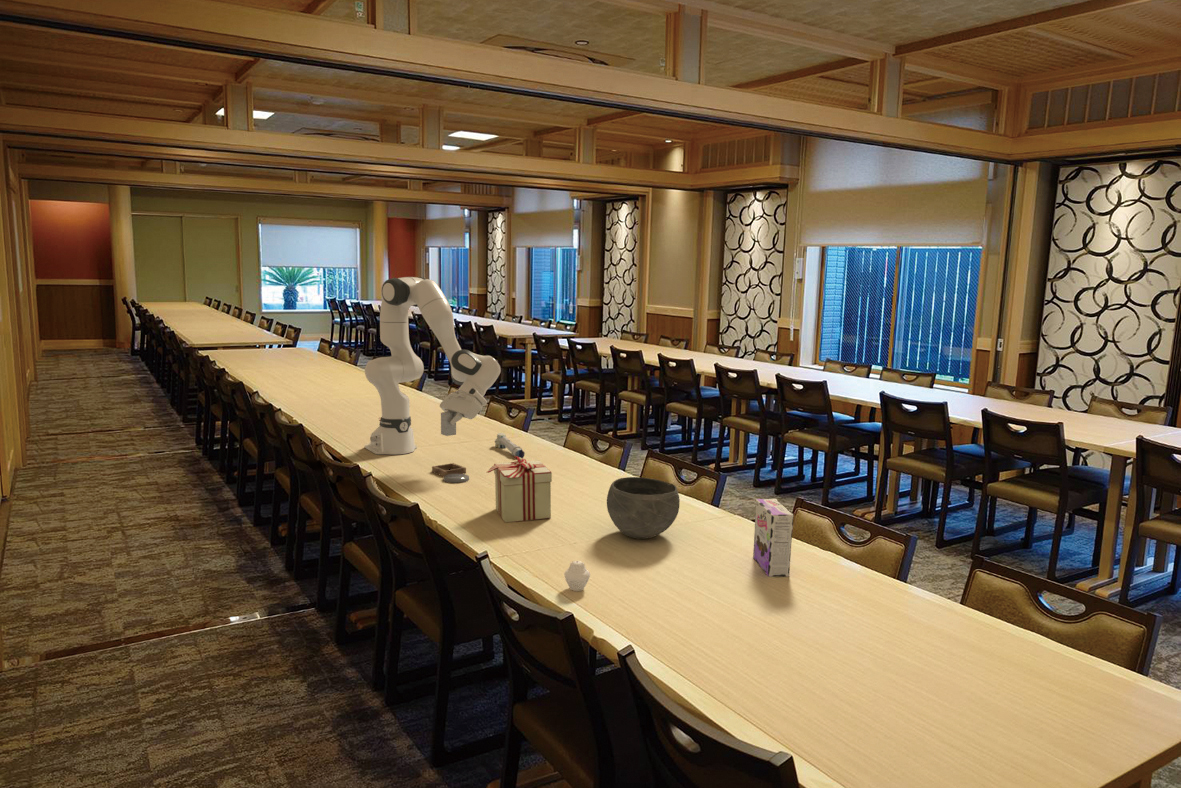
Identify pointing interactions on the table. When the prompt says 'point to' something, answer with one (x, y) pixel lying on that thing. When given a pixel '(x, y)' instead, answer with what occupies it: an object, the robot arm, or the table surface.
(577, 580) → the beige stone rounded piece
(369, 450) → the robot arm
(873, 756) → the table surface
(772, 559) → the candy box
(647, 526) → the bowl
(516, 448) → the grey flashlight
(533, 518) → the gift box
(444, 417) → the steel block
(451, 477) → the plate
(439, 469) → the socket
